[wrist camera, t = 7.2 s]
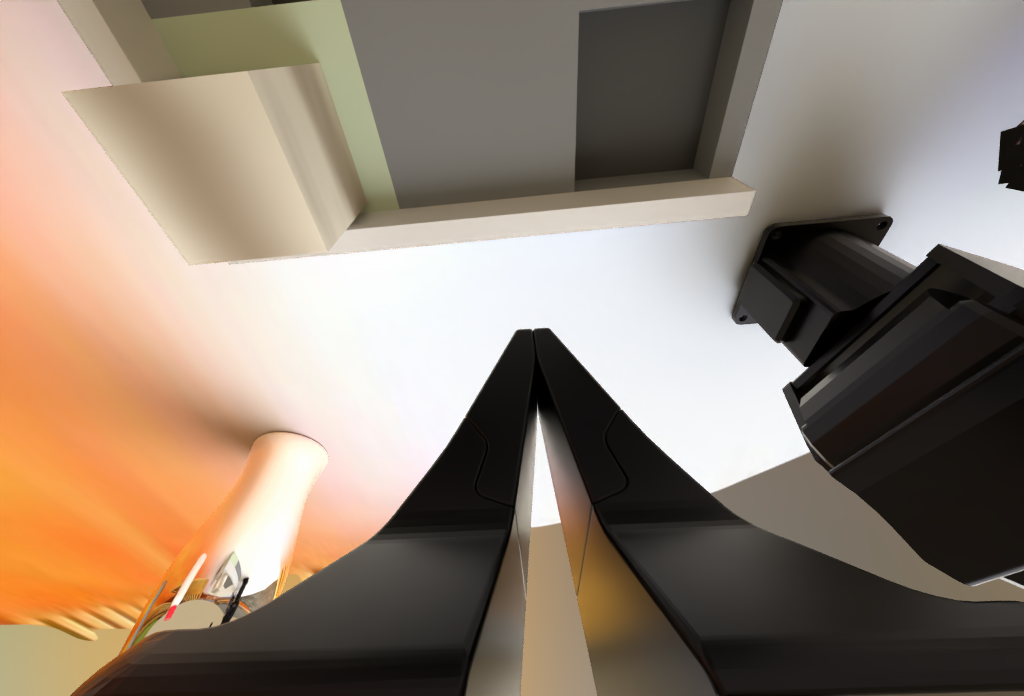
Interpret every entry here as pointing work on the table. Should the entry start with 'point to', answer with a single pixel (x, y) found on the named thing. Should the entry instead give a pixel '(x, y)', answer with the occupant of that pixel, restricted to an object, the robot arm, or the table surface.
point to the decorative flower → (1012, 157)
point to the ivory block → (232, 160)
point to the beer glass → (239, 542)
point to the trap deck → (487, 101)
